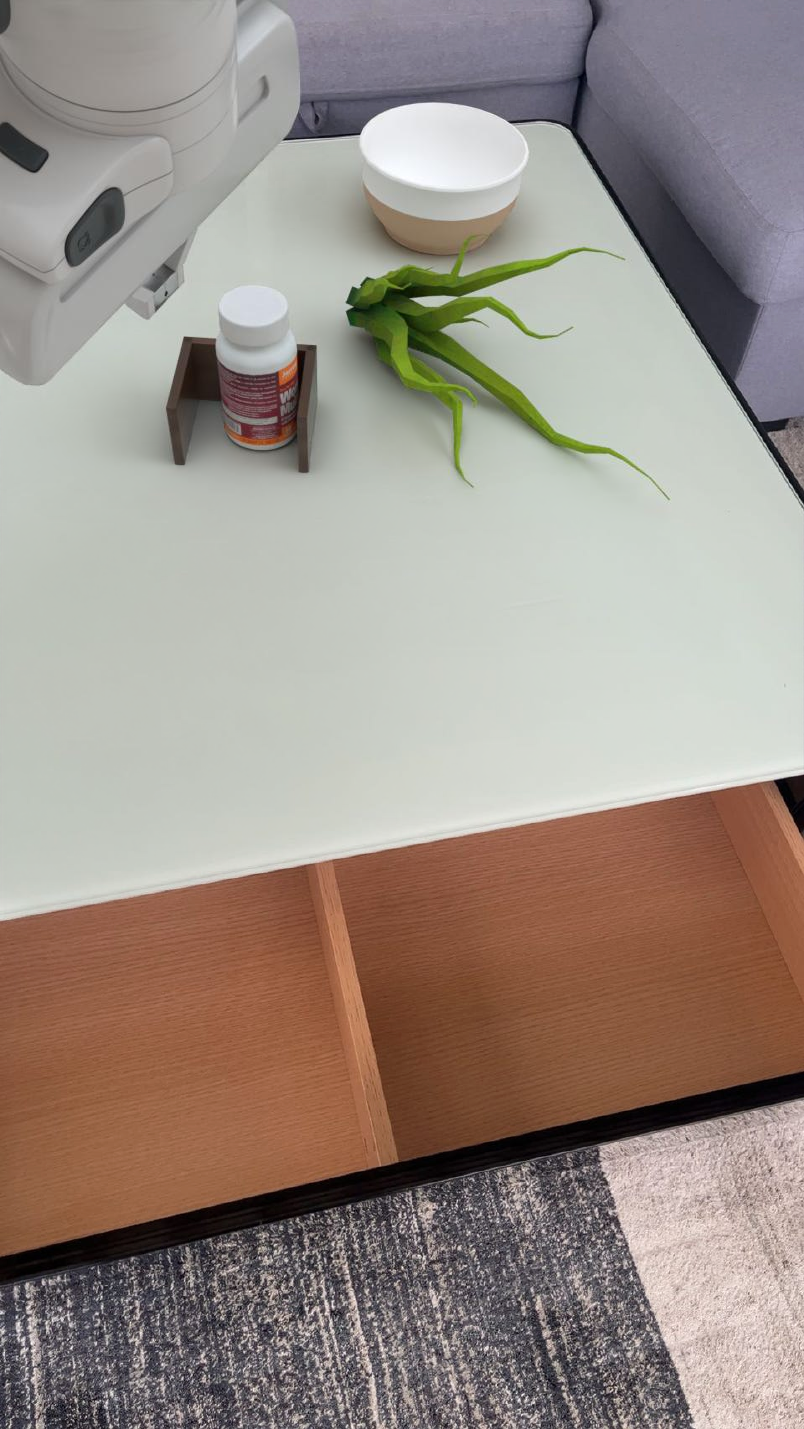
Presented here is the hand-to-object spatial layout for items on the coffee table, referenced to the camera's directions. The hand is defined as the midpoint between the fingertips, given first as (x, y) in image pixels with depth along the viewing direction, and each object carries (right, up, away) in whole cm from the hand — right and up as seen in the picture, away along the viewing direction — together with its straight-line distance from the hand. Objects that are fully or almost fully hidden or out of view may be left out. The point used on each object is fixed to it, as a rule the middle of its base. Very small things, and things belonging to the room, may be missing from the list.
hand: (153, 294), depth 55 cm
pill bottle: (+1, +2, +32) cm, 32 cm away
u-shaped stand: (0, +2, +32) cm, 32 cm away
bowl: (+16, +27, +51) cm, 60 cm away
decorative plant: (+21, +4, +35) cm, 41 cm away
